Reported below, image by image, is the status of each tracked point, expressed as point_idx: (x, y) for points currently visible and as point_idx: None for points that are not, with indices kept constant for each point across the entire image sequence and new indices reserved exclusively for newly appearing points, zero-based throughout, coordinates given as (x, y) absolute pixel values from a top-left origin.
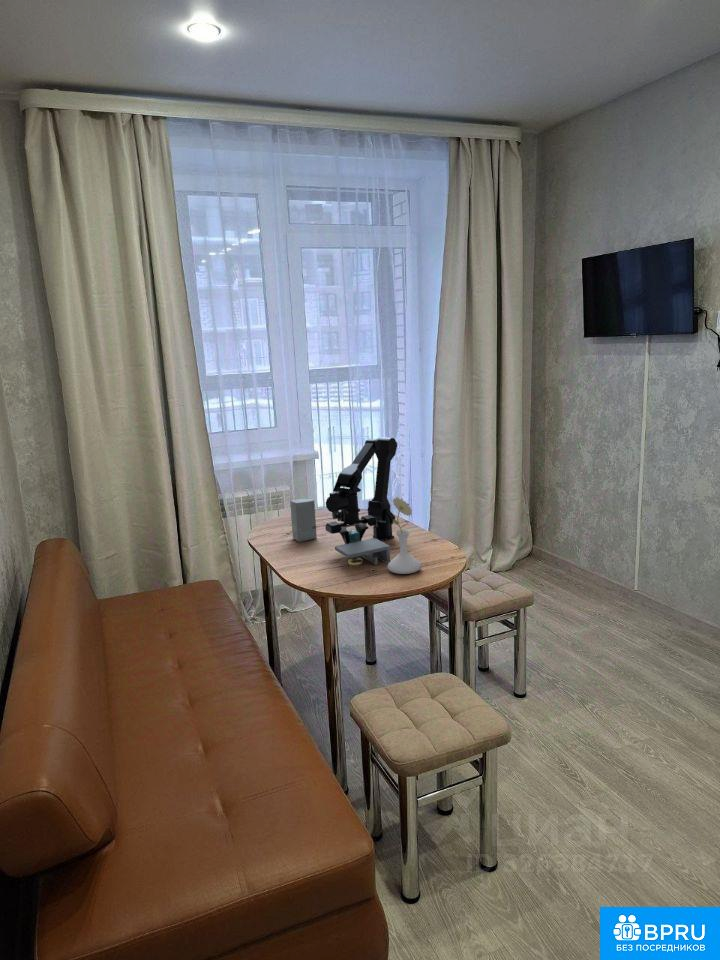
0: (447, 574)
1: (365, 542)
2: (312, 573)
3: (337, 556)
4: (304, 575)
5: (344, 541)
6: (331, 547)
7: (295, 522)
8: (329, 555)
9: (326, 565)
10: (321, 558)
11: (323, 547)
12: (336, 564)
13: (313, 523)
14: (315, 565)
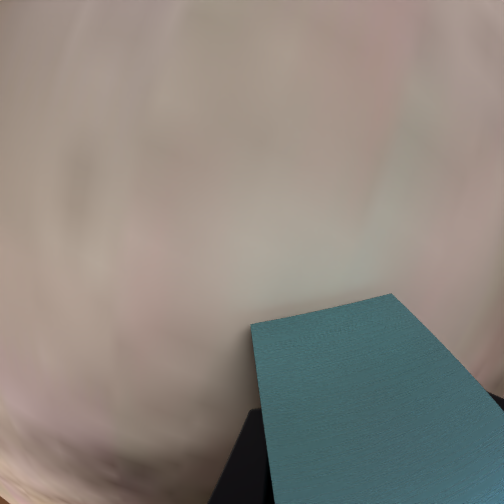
0: None
1: None
2: (30, 497)
3: (127, 418)
4: (8, 490)
5: (223, 490)
6: (96, 76)
7: None
8: (51, 363)
9: (67, 484)
10: (5, 387)
11: (20, 54)
12: (123, 500)
13: None
14: (10, 453)
